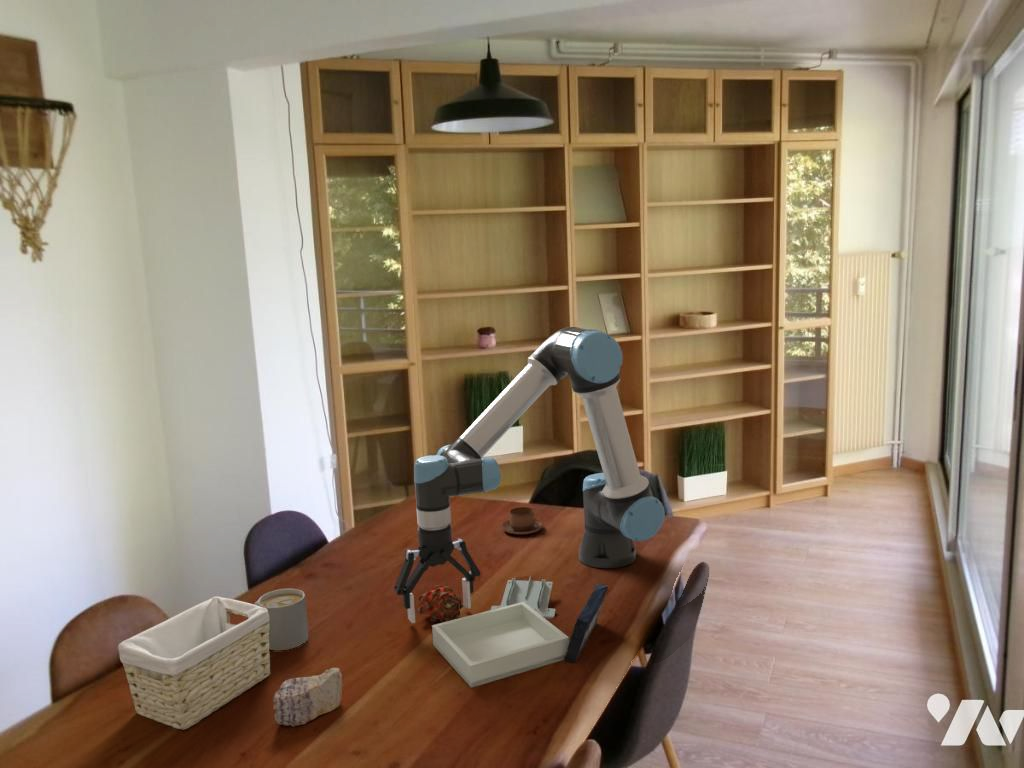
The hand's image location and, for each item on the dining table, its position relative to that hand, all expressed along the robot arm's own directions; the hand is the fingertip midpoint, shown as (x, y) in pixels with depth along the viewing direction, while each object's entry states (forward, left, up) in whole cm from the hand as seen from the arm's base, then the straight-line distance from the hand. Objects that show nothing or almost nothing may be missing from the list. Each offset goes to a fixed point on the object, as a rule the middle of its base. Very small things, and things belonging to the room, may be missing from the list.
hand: (439, 613), depth 188 cm
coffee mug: (+34, -10, -2) cm, 35 cm away
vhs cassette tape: (-22, +26, -2) cm, 34 cm away
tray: (-5, +21, -1) cm, 22 cm away
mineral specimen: (+36, +23, -2) cm, 43 cm away
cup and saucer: (-43, -42, -2) cm, 60 cm away
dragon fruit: (0, 0, -2) cm, 2 cm away
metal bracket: (-20, +4, -2) cm, 21 cm away
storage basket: (+52, +6, -2) cm, 52 cm away
